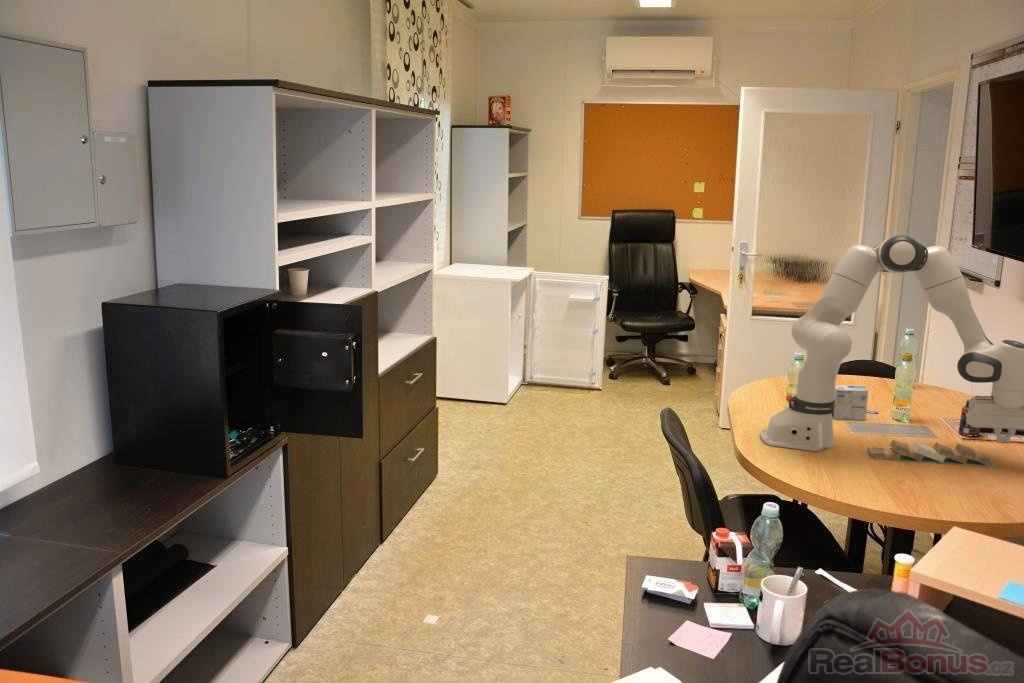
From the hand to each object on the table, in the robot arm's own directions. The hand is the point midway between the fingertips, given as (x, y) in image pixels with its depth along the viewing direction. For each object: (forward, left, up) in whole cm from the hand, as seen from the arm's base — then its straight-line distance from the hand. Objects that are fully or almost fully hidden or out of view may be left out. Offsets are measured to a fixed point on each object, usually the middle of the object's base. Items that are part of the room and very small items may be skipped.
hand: (1002, 442), depth 235 cm
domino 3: (-16, 0, -6) cm, 17 cm away
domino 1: (-28, 0, -5) cm, 29 cm away
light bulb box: (-34, +39, -7) cm, 52 cm away
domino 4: (-10, 0, -6) cm, 11 cm away
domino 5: (-4, 0, -6) cm, 7 cm away
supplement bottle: (+1, +27, -7) cm, 28 cm away
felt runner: (-15, 0, -7) cm, 16 cm away
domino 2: (-22, 0, -6) cm, 23 cm away
